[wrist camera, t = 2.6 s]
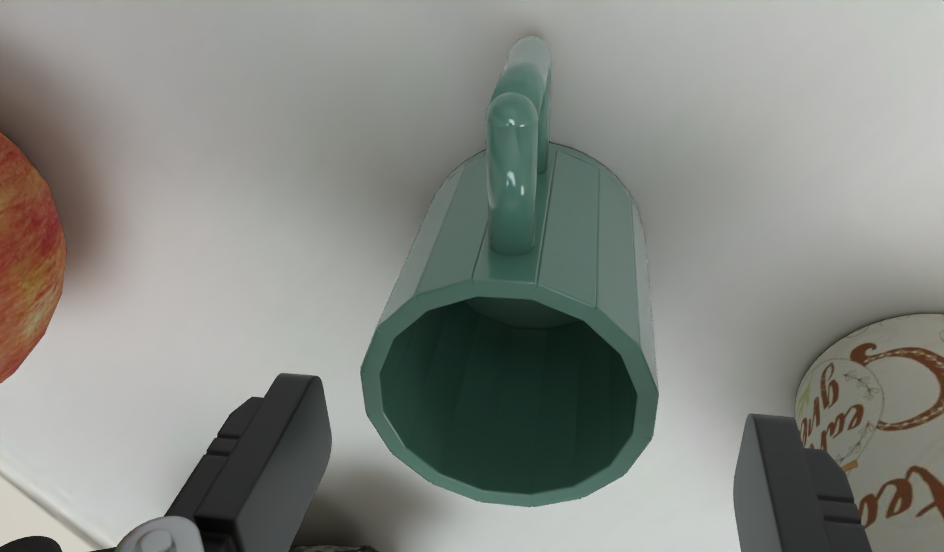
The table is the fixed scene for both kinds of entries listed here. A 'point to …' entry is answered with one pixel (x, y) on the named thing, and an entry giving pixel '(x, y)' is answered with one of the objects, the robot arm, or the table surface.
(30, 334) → the fruit
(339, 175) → the table surface
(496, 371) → the green mug
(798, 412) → the mug
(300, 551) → the rock
